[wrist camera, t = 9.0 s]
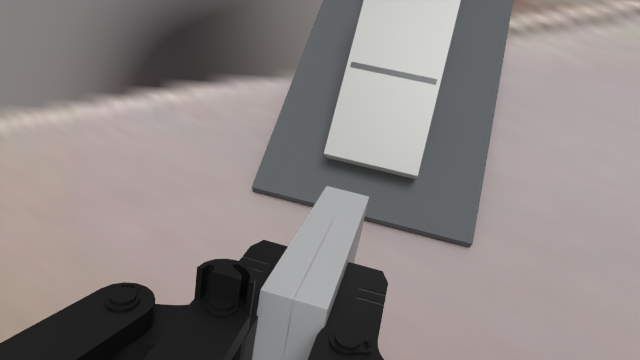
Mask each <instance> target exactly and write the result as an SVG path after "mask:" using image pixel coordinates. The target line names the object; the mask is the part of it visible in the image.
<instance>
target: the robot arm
mask: <svg viewBox="0 0 640 360" xmlns="http://www.w3.org/2000/svg"><path fill="white" fill-rule="evenodd" d="M368 200H369V196H365V195H361V194H357V193H353V192H349V191H345V190H341V189H337V188H333V187H329V186H326V188H325V189H324V191H323V192H322V194H321V196H320V197H319V199H318V200H317V202H316V203H315V205H314V207H313V208H312V210H311V211H310V213H309V214H308V216H307V218H306V219H305V221H304V222H303V224H302V225H301V227H300V229H299V230H298V232H297V233H296V235H295V236H294V238H293V240H292V241H291V243H290V244H289V246H288V247H287V246H284V245H280V244H277V243H273V242H269V241H266V240H263V241H261V242H259V243H257V244H254V245H252V246H251V247H250V248H249V249H248V250H247V252H246V253H245V254H244V255H243V258H241V259H240V260H239V261H236V260H230V259H214V260H211V261H207V262H204V263H203V264H201V265H200V266H199V267H197V277H196V288H195V299H194V300H193V301H192V302H191V303H190V305H161V304H155V297H154V294H153V292H152V291H151V290H150V289H148V288H147V287H146V286H143V285H140V284H137V283H118V284H112V285H109V286H106V287H104V288H101V289H99V290H98V291H96V292H94V293H92V294H90V295H88V296H86V297H85V298H83V299H81V300H79V301H77V302H75V303H74V304H72V305H70V306H68V307H66V308H64V309H63V310H61V311H59V312H57V313H55V314H53V315H51V316H50V317H48V318H46V319H44V320H42V321H40V322H39V323H37V324H35V325H33V326H31V327H29V328H28V329H26V330H24V331H22V332H20V333H18V334H16V335H15V336H13V337H11V338H9V339H7V340H5V341H4V342H2V343H0V360H384V359H383V358H382V356H381V354H380V352H379V349H378V335H379V330H380V324H381V319H382V313H383V308H384V302H385V296H386V291H387V286H388V282H387V280H386V278H385V276H384V274H383V271H379V270H376V269H372V268H368V267H365V266H361V265H358V264H354V261H355V256H356V252H357V248H358V244H359V239H360V235H361V231H362V226H363V222H364V218H365V213H366V209H367V205H368Z"/></svg>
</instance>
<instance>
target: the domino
mask: <svg viewBox="0 0 640 360" xmlns="http://www.w3.org/2000/svg"><path fill="white" fill-rule="evenodd" d="M460 1H461V0H364V1H363V5H362V9H361V13H360V16H359V20H358V24H357V28H356V32H355V36H354V39H353V43H352V47H351V51H350V55H349V59H348V62H347V66H346V70H345V74H344V78H343V82H342V85H341V89H340V93H339V97H338V101H337V105H336V108H335V112H334V116H333V120H332V124H331V128H330V131H329V135H328V139H327V143H326V147H325V151H324V154H325V156H326V157H327V158H329V159H333V160H337V161H341V162H346V163H350V164H354V165H358V166H362V167H366V168H370V169H375V170H379V171H383V172H387V173H391V174H395V175H400V176H404V177H408V178H412V179H416V178H417V176H418V173H419V169H420V165H421V161H422V156H423V152H424V148H425V144H426V140H427V136H428V132H429V128H430V124H431V120H432V116H433V112H434V108H435V103H436V99H437V95H438V91H439V87H440V83H441V79H442V75H443V71H444V67H445V63H446V59H447V54H448V50H449V46H450V42H451V38H452V34H453V30H454V26H455V22H456V18H457V14H458V10H459V6H460Z"/></svg>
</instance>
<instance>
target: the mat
mask: <svg viewBox="0 0 640 360" xmlns="http://www.w3.org/2000/svg"><path fill="white" fill-rule="evenodd" d="M363 1H364V0H323V2H322V5H321V8H320V10H319V13H318V16H317V18H316V21H315V23H314V26H313V28H312V31H311V34H310V37H309V39H308V42H307V44H306V47H305V49H304V52H303V55H302V57H301V60H300V63H299V65H298V68H297V70H296V73H295V76H294V78H293V81H292V84H291V86H290V89H289V91H288V94H287V97H286V99H285V102H284V105H283V107H282V110H281V112H280V115H279V118H278V120H277V123H276V125H275V128H274V131H273V133H272V136H271V139H270V141H269V144H268V146H267V149H266V152H265V154H264V157H263V160H262V162H261V165H260V167H259V170H258V173H257V175H256V178H255V181H254V183H253V186H252V188H253V191H254V192H258V193H262V194H266V195H270V196H273V197H277V198H281V199H285V200H289V201H293V202H297V203H300V204H304V205H308V206H312V207H314V205H315V203H316V202H317V200H318V199H319V197H320V196H321V194H322V192H323V191H324V189H325V188H326V186H329V187H333V188H337V189H341V190H345V191H349V192H353V193H357V194H361V195H365V196H369V200H368V205H367V209H366V213H365V218H364V220H366V221H370V222H374V223H378V224H382V225H385V226H389V227H393V228H397V229H401V230H405V231H409V232H412V233H416V234H420V235H424V236H428V237H432V238H436V239H439V240H443V241H447V242H451V243H455V244H459V245H463V246H467V247H470V246H471V245H472V243H473V237H474V231H475V225H476V219H477V213H478V207H479V201H480V195H481V189H482V183H483V177H484V171H485V165H486V159H487V153H488V147H489V141H490V135H491V129H492V123H493V117H494V111H495V105H496V99H497V93H498V87H499V81H500V75H501V69H502V63H503V57H504V51H505V45H506V39H507V33H508V27H509V21H510V15H511V9H512V3H513V0H461V1H460V6H459V10H458V14H457V18H456V22H455V26H454V30H453V34H452V38H451V42H450V46H449V50H448V54H447V59H446V63H445V67H444V71H443V75H442V79H441V83H440V87H439V91H438V95H437V99H436V103H435V108H434V112H433V116H432V120H431V124H430V128H429V132H428V136H427V140H426V144H425V148H424V152H423V156H422V161H421V165H420V169H419V173H418V176H417V178H416V179H412V178H408V177H404V176H400V175H395V174H391V173H387V172H383V171H379V170H375V169H370V168H366V167H362V166H358V165H354V164H350V163H346V162H341V161H337V160H333V159H329V158H327V157H326V156H325V154H324V151H325V147H326V143H327V139H328V135H329V131H330V128H331V124H332V120H333V116H334V112H335V108H336V105H337V101H338V97H339V93H340V89H341V85H342V82H343V78H344V74H345V70H346V66H347V62H348V59H349V55H350V51H351V47H352V43H353V39H354V36H355V32H356V28H357V24H358V20H359V16H360V13H361V9H362V5H363Z"/></svg>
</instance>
